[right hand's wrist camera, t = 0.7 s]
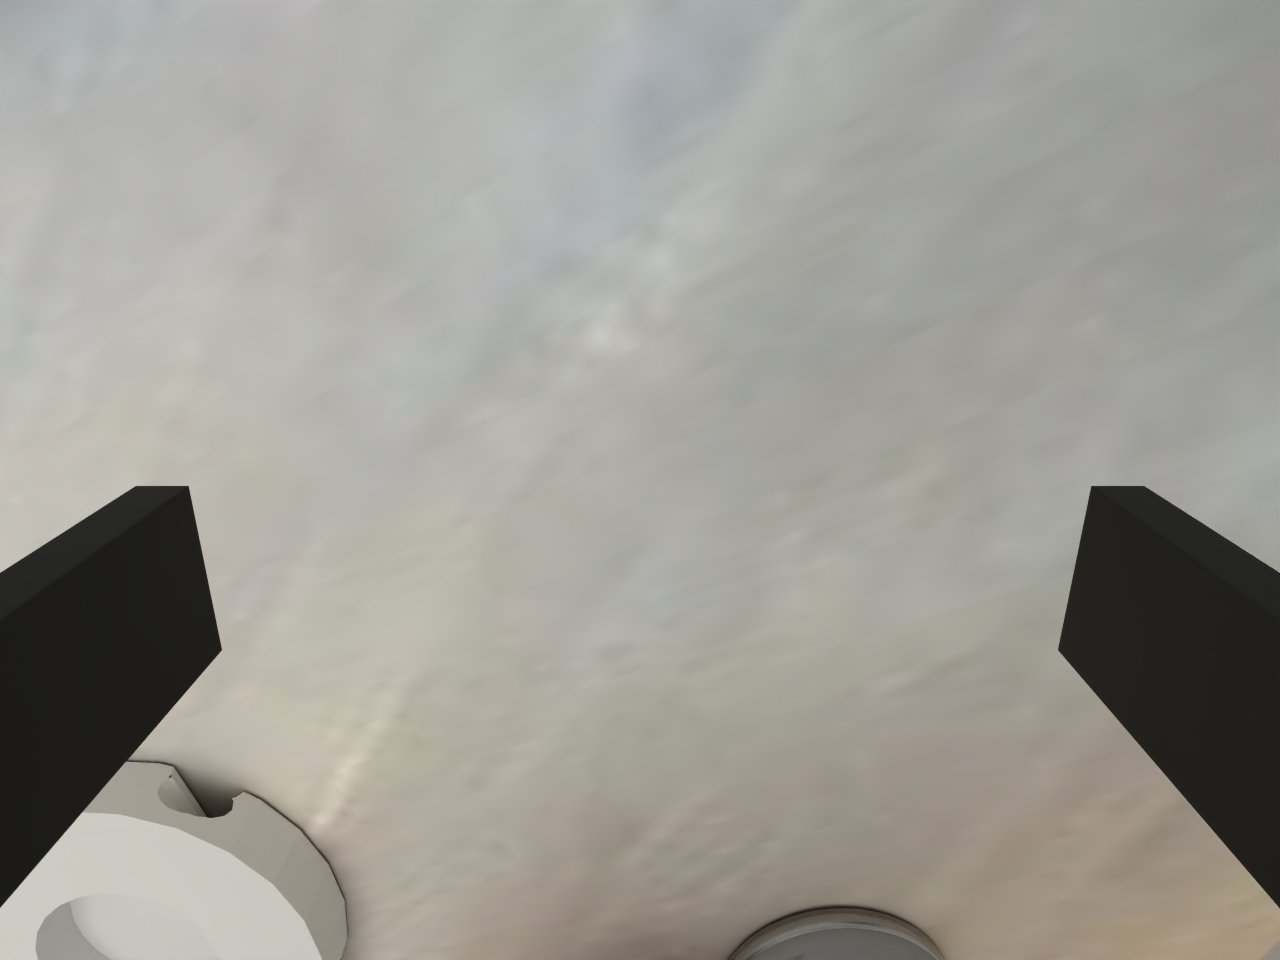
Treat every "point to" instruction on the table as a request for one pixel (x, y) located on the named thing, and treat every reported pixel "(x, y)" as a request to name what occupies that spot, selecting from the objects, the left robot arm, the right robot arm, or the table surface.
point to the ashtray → (175, 883)
